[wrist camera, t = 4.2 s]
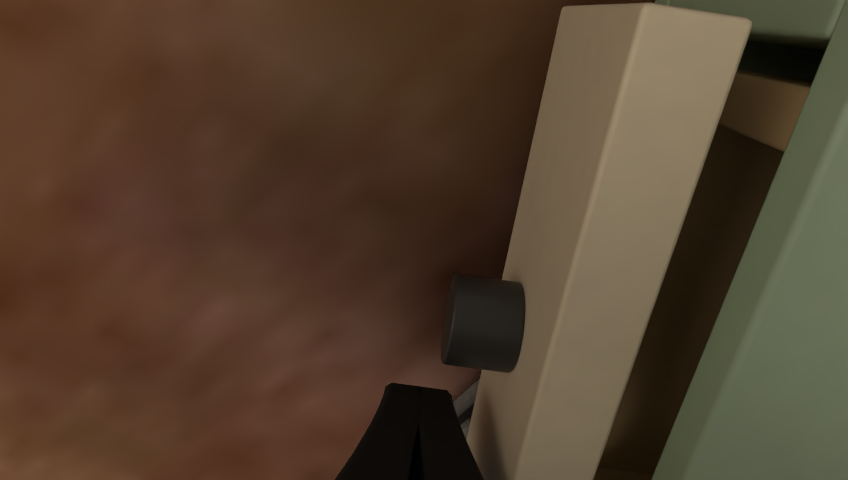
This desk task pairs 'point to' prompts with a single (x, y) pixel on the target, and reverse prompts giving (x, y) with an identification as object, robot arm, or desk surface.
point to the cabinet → (781, 279)
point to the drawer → (618, 241)
